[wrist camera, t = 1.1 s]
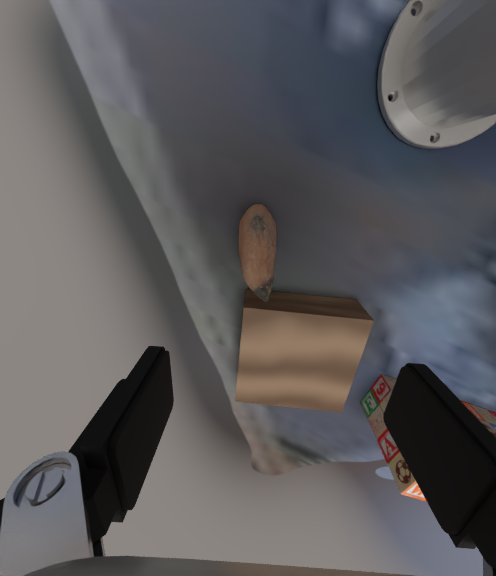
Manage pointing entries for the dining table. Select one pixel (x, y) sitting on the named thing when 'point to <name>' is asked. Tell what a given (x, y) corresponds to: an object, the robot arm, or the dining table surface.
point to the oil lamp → (258, 249)
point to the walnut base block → (300, 350)
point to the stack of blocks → (374, 412)
